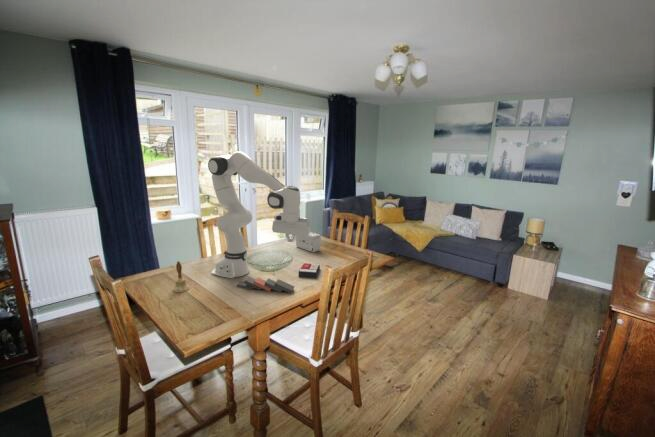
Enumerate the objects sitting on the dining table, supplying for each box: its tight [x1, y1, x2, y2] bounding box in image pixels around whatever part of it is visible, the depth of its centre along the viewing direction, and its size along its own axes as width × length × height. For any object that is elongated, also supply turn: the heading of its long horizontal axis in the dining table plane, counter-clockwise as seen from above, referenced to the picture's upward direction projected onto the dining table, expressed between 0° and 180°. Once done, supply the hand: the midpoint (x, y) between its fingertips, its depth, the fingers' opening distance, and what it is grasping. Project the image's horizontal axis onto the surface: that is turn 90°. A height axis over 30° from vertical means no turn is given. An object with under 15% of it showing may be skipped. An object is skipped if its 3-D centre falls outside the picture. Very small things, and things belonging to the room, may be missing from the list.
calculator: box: [298, 262, 321, 279], centre depth 194 cm, size 11×4×15 cm
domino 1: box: [236, 280, 255, 290], centre depth 173 cm, size 2×5×10 cm
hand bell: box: [172, 260, 191, 293], centre depth 167 cm, size 8×8×16 cm
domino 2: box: [243, 276, 263, 291], centre depth 172 cm, size 2×5×10 cm
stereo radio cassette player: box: [295, 231, 322, 253], centre depth 236 cm, size 21×8×20 cm, turn 47°
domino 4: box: [264, 278, 283, 293], centre depth 169 cm, size 2×5×10 cm
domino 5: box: [274, 278, 295, 294], centre depth 169 cm, size 2×5×10 cm
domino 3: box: [253, 276, 272, 292], centre depth 170 cm, size 2×5×10 cm
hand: (290, 241), depth 167 cm, fingers closed
